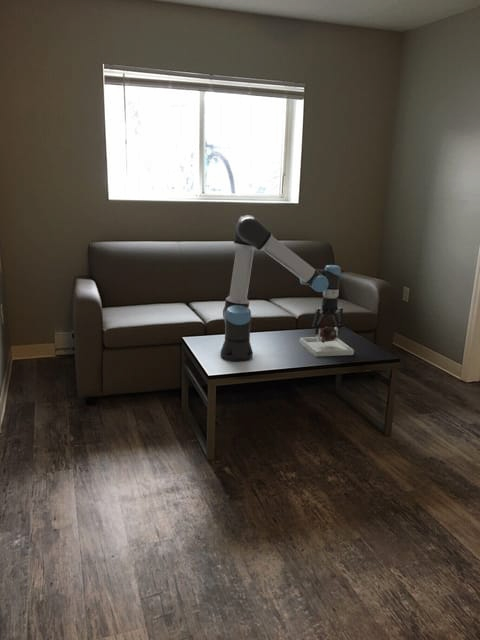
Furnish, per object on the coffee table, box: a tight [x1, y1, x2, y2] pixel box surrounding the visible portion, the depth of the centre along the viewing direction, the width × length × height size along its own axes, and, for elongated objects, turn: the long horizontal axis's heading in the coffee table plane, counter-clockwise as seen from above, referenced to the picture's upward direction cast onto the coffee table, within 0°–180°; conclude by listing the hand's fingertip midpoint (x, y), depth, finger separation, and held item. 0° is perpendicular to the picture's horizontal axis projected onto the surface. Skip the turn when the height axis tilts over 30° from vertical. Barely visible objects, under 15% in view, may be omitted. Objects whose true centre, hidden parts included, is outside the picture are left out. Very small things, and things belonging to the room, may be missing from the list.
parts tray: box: [298, 336, 355, 357], centre depth 259 cm, size 20×22×2 cm
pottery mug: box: [320, 326, 338, 343], centre depth 258 cm, size 12×10×8 cm
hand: (326, 340), depth 258 cm, fingers closed on pottery mug, 9 cm apart
